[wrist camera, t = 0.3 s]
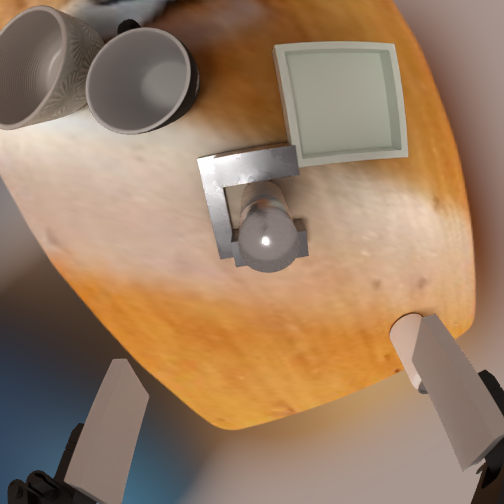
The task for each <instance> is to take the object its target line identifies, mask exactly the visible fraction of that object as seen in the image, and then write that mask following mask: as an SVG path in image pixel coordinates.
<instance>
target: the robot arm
mask: <svg viewBox="0 0 504 504" xmlns="http://www.w3.org/2000/svg"><path fill="white" fill-rule="evenodd" d="M411 361H412V363H413V365H414V367H415V369H416V371H417V372H418V374H419V376H420V378H421V380H422V382H423V384H424V386H425V388H426V390H427V392H428V394H429V396H430V398H431V400H432V402H433V405H434V407H435V409H436V411H437V413H438V415H439V417H440V419H441V422H442V423H443V426H444V428H445V431H446V433H447V435H448V437H449V440H450V442H451V444H452V446H453V449H454V451H455V454H456V456H457V459H458V461H459V464H460V466H461V469H462V471H465V470H467V469H469V468H471V467H473V466H475V465H476V464H478V463H479V462H480V461H481V460H482V459H483V458H485V460H486V462H485V463H484V464H483V465H482V466H481V467H480V468H479V469H478V470H477V472H476V474H478V473H480V472H481V471H482V473H481V477H480V480H479V483H478V485H477V488H476V491H475V494H474V496H473V499H472V502H471V504H504V391H503V389H502V388H501V387H500V384H499V383H498V381H497V380H496V378H495V377H494V376H493V375H492V374H491V373H489V372H488V371H487V370H483V371H481V372H479V373H477V372H476V370H475V369H474V367H473V366H472V364H471V363H470V361H469V360H468V358H467V357H466V355H465V354H464V352H463V351H462V350H461V348H460V347H459V345H458V344H457V342H456V341H455V340H454V338H453V337H452V335H451V334H450V333H449V331H448V330H447V329H446V327H445V326H444V324H443V323H442V322H441V320H440V319H439V318H438V316H437V315H436V314H433V315H429V316H426V317H422V318H421V322H420V327H419V331H418V336H417V340H416V344H415V348H414V352H413V356H412V360H411ZM148 398H149V395H148V393H147V392H146V390H145V389H144V387H143V386H142V384H141V382H140V381H139V379H138V378H137V376H136V374H135V373H134V371H133V369H132V368H131V366H130V364H129V362H128V361H127V359H113V360H112V362H111V364H110V367H109V369H108V371H107V373H106V376H105V378H104V380H103V382H102V384H101V387H100V389H99V391H98V393H97V396H96V398H95V400H94V403H93V405H92V407H91V410H90V412H89V415H88V417H87V420H86V422H85V424H82V423H79V424H78V425H77V426H76V427H75V429H74V430H73V431H72V433H71V435H70V438H69V440H68V443H67V445H66V448H65V449H66V450H65V451H64V453H63V455H62V458H61V461H60V464H59V466H58V469H57V472H56V474H55V477H54V479H53V478H51V477H50V476H49V475H47V474H46V473H45V472H43V471H40V470H36V471H33V472H32V473H30V475H29V476H28V477H27V480H26V483H24V482H23V481H21V480H19V479H16V480H13V481H12V482H11V483H10V484H9V486H8V504H96V503H99V504H121V502H122V498H123V493H124V489H125V485H126V481H127V476H128V472H129V468H130V464H131V460H132V456H133V452H134V449H135V444H136V441H137V437H138V433H139V430H140V426H141V423H142V419H143V415H144V412H145V409H146V405H147V401H148Z"/></svg>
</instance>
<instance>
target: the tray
mask: <svg viewBox="0 0 504 504" xmlns="http://www.w3.org/2000/svg"><path fill="white" fill-rule="evenodd" d="M272 54H273V60H274V65H275V70H276V75H277V81H278V86H279V92H280V97H281V103H282V109H283V115H284V121H285V127H286V134H287V140H288V143H290V144H291V145H296V152H297V159H298V167H299V168H300V167H308V166H316V165H324V164H332V163H342V162H351V161H362V160H373V159H386V158H400V157H408V143H407V129H406V117H405V108H404V99H403V91H402V84H401V77H400V71H399V65H398V60H397V54H396V49H395V44H391V43H378V42H355V41H326V42H303V43H289V44H279V45H274V48H273V50H272Z"/></svg>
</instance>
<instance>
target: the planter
mask: <svg viewBox="0 0 504 504" xmlns="http://www.w3.org/2000/svg"><path fill="white" fill-rule="evenodd" d="M104 45H105V44H104V41H103V39H102V38H101V36H100V35H99V34H98V33H97V32H96V31H95V30H94V29H93V28H91V27H90V26H89V25H87V24H85V23H84V22H82V21H80V20H78V19H76V18H74V17H72V16H70V15H68V14H66V13H64V12H61V11H59V10H57V9H55V8H52V7H50V6H42V5H41V6H35V7H31V8H29V9H26V10H24V11H23V12H21V13H19V14H18V15H17V16H15V17H14V18H13V19H12V20H10V21H9V22H8V23H7V24H6V25H5V27H4V28H3V29H2V30H1V31H0V129H3V130H14V129H18V128H21V127H25V126H29V125H33V124H38V123H42V122H46V121H50V120H54V119H58V118H61V117H64V116H67V115H69V114H71V113H73V112H75V111H77V110H78V109H80V108H81V107H83V106H84V105H85V104H86V103H87V99H86V79H87V74H88V71H89V68H90V66H91V64H92V62H93V60H94V58H95V57H96V55H97V54H98V52H99V51H100V50H101V49H102V48H103V47H104Z"/></svg>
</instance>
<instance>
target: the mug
mask: <svg viewBox="0 0 504 504" xmlns="http://www.w3.org/2000/svg"><path fill="white" fill-rule="evenodd" d="M199 90H200V74H199V70H198V67H197V64H196V62H195V60H194V58H193V56H192V55H191V53H190V52H189V50H188V49H187V48H186V47H185V45H184V44H183V43H182V42H181V41H180V40H179V39H178V38H176V37H175V36H174V35H172V34H170V33H169V32H166V31H164V30H161V29H157V28H150V27H143V28H141V26H140V25H139V24H138V23H137V22H136V21H134V20H133V19H128V20H125V21H123V22H122V23H121V24H120V25H119V27H118V35H117V36H116V37H114V38H113V39H111V40H110V41H109V42H108V43H107V44H106V45H104V47H103V48H102V49H101V50H100V51H99V52H98V54H97V55H96V57H95V58H94V60H93V62H92V64H91V66H90V68H89V71H88V74H87V79H86V99H87V103H88V106H89V109H90V111H91V113H92V114H93V116H94V117H95V119H96V120H97V121H98V122H99V123H100V124H101V125H103V126H104V127H106V128H107V129H109V130H111V131H114V132H117V133H121V134H141V133H146V132H150V131H153V130H156V129H159V128H161V127H164V126H166V125H168V124H170V123H172V122H174V121H176V120H177V119H179V118H180V117H182V116H183V115H184V114H185V113H186V112H188V110H189V109H190V108H191V107H192V106H193V104H194V103H195V101H196V99H197V97H198V94H199Z"/></svg>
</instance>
